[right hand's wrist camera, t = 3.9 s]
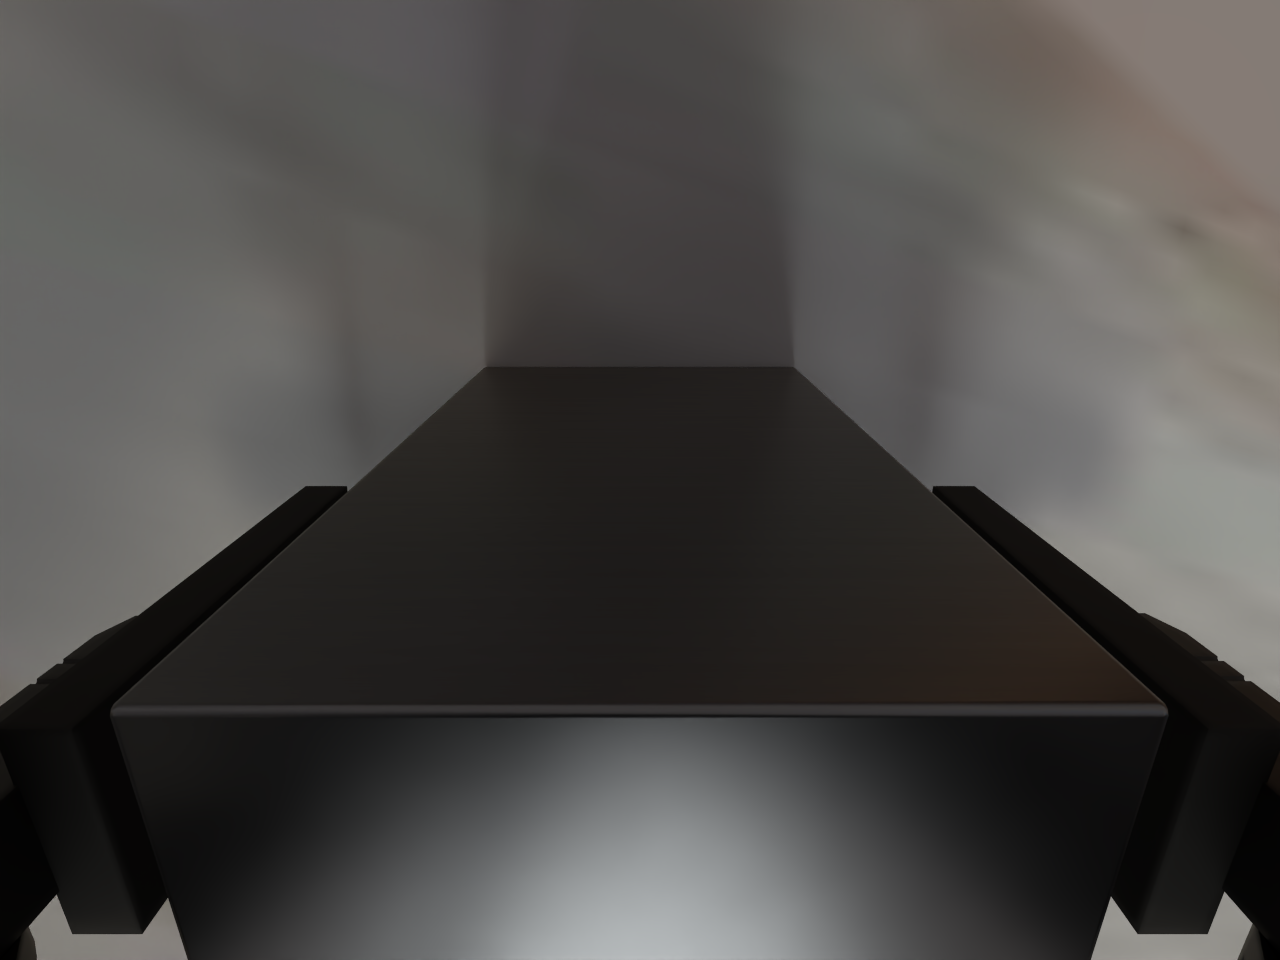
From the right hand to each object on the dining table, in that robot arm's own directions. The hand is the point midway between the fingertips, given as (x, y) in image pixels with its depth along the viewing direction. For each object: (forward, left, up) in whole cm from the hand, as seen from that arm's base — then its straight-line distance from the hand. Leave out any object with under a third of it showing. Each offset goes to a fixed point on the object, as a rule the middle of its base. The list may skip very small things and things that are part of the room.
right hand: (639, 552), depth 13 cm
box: (+8, 0, -2) cm, 8 cm away
